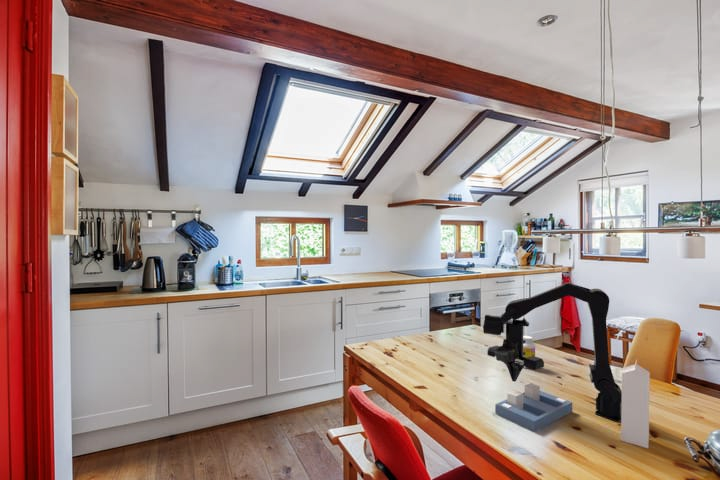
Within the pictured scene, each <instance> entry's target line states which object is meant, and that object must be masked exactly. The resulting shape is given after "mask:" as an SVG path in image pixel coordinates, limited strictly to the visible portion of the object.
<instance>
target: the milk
mask: <svg viewBox="0 0 720 480" xmlns="http://www.w3.org/2000/svg"><path fill="white" fill-rule="evenodd" d="M650 375H651V373H650V371H648V370H647V369H645V368H643V367H642V366H641V365H639V364H638V360H637V358H636V359H635V363H634V364H631V365H628V366H625V367H623V369H622V372H621V391H622V409H621V420H620V426H621V427H620V441H621V442H624V443H625V442H626V443H628V444H632V445H635V446H637V447H638V446H639V447H642V448H645V449H649V444H650V380H651V379H650Z"/></svg>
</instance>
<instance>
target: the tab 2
mask: <svg viewBox="0 0 720 480" xmlns="http://www.w3.org/2000/svg"><path fill="white" fill-rule="evenodd" d="M540 391H541V388H540V385H538V384H534V383H528V384H525V385H524V392H525V394H524V396H526V397H529V398H531V399H534V400H536V401H540Z"/></svg>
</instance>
